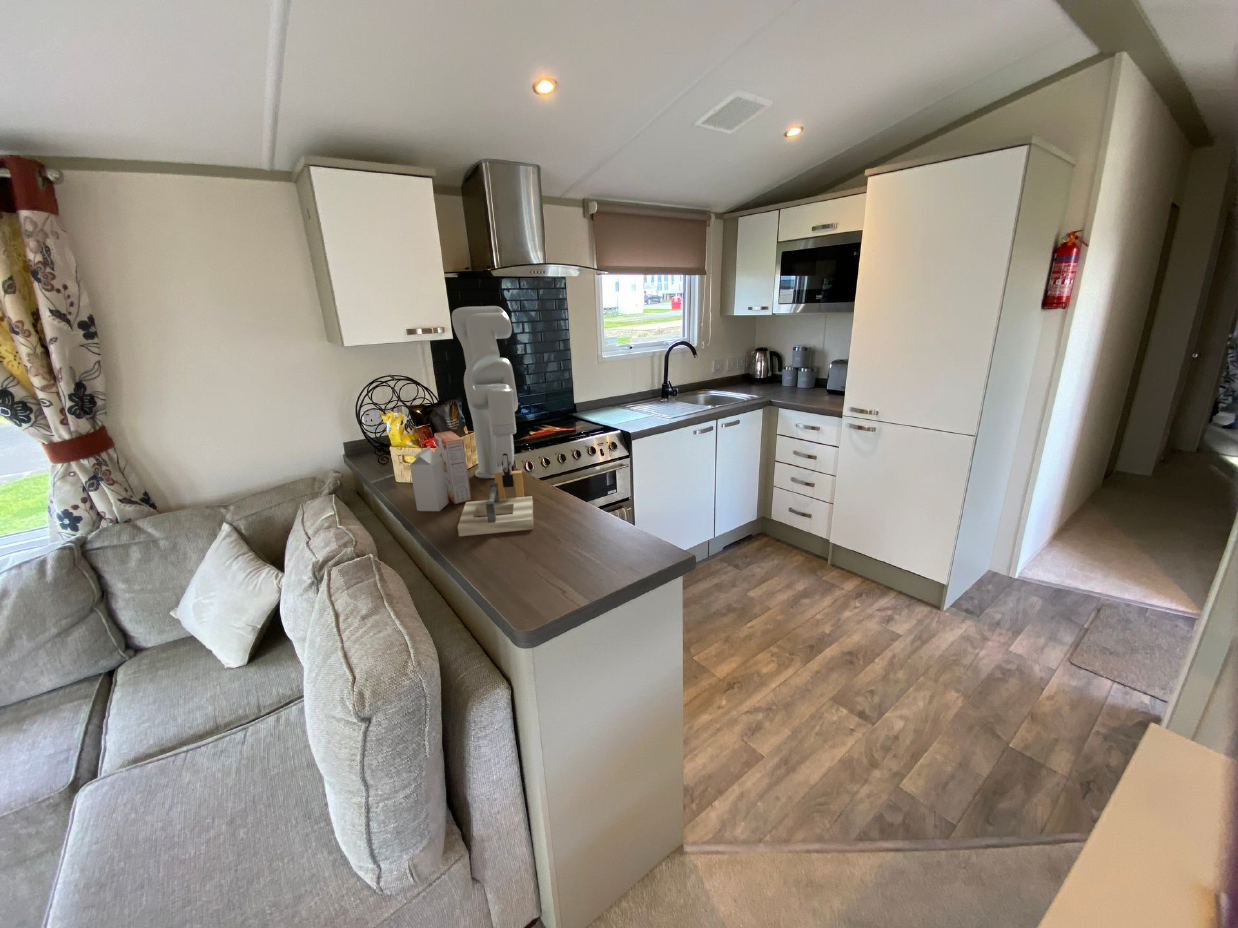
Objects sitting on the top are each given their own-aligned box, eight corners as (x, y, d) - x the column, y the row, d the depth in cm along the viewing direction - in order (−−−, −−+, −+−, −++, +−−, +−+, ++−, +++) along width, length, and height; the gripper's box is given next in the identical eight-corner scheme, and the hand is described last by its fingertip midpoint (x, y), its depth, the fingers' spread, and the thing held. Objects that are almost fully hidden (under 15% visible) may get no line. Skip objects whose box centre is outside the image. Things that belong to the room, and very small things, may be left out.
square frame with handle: (467, 511, 151) (463, 485, 149) (533, 505, 154) (530, 479, 152) (459, 536, 134) (454, 507, 132) (533, 529, 137) (530, 500, 135)
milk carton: (449, 503, 158) (440, 446, 153) (439, 511, 152) (430, 452, 146) (427, 503, 159) (418, 446, 153) (417, 511, 152) (407, 452, 147)
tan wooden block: (498, 500, 159) (494, 472, 157) (524, 497, 161) (521, 470, 158) (497, 502, 157) (494, 474, 154) (524, 500, 158) (521, 472, 156)
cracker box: (442, 492, 168) (433, 432, 162) (460, 488, 171) (451, 430, 165) (453, 505, 157) (444, 441, 150) (472, 500, 160) (463, 438, 153)
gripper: (493, 423, 159) (498, 474, 165) (488, 436, 143) (495, 492, 148) (516, 421, 161) (521, 473, 166) (515, 434, 144) (520, 490, 149)
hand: (509, 482), depth 157 cm, fingers open, 7 cm apart
